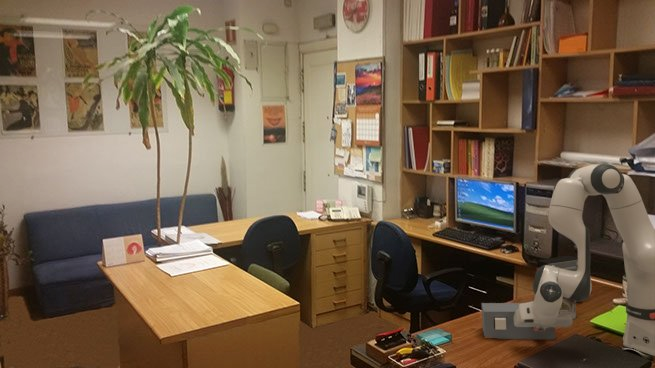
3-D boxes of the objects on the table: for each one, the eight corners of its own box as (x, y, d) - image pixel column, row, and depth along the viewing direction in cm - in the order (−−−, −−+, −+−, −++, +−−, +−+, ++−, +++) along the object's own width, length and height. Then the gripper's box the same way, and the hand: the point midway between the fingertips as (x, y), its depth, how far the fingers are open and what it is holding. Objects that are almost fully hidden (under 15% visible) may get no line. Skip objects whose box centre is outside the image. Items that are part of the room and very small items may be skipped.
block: (555, 339, 210) (554, 311, 209) (484, 338, 215) (483, 311, 213) (549, 329, 220) (548, 303, 219) (482, 329, 225) (481, 303, 224)
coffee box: (576, 314, 235) (575, 277, 233) (575, 319, 229) (574, 282, 227) (553, 312, 239) (552, 276, 237) (551, 317, 233) (551, 280, 231)
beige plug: (506, 329, 211) (506, 319, 210) (495, 329, 212) (495, 319, 211) (502, 319, 221) (502, 310, 221) (492, 319, 222) (492, 310, 222)
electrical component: (551, 308, 244) (550, 264, 242) (537, 301, 254) (536, 259, 252) (584, 302, 249) (583, 259, 247) (569, 296, 258) (568, 255, 257)
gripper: (574, 303, 196) (568, 320, 206) (514, 303, 200) (511, 320, 210) (577, 320, 192) (571, 336, 202) (516, 320, 196) (513, 336, 206)
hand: (540, 328), depth 206 cm, fingers closed, pressing on rust plug
